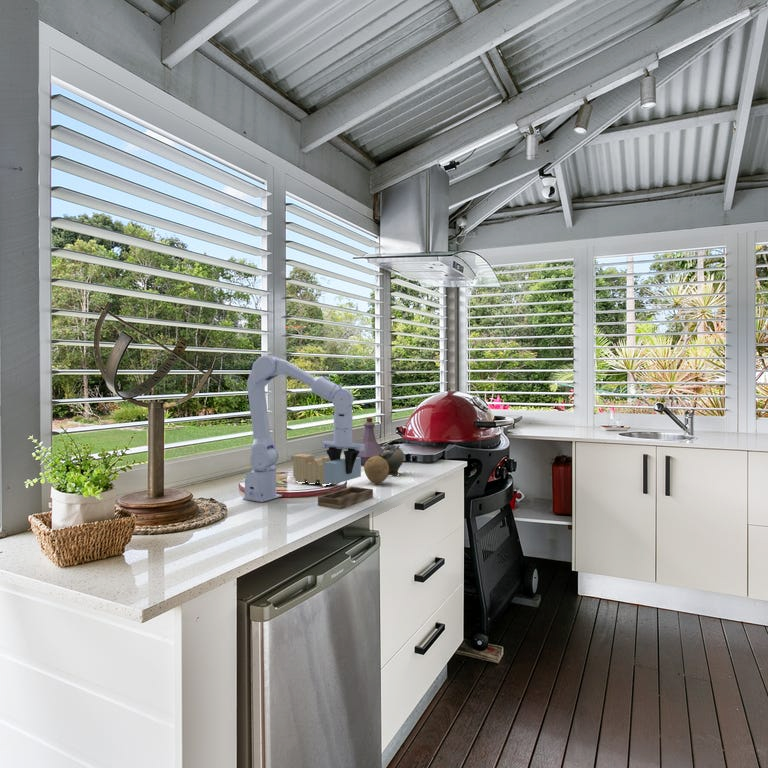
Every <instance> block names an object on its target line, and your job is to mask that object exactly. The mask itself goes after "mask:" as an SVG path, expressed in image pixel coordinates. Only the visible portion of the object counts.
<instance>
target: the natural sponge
mask: <svg viewBox="0 0 768 768" xmlns="http://www.w3.org/2000/svg"><path fill="white" fill-rule="evenodd" d="M363 469H364V473H365V476H366V477H367V479H368V480H369V481H370V483H372V484H373V485H379V484H381V483H383V482H384V481H386V479H388V477H389V476H388V473H389V465H388V463H387V461H386V460H385V459H384V458H382V457H380V456H373V457H371V458H369V459H368V460H367V461H366V463H365V465H364V466H363Z"/></svg>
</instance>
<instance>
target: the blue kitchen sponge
mask: <svg viewBox="0 0 768 768" xmlns="http://www.w3.org/2000/svg"><path fill="white" fill-rule="evenodd" d="M361 477H362V465H361V458H360V457H357V458H356V460H355V463H354V466H353V470H352V473H351V474H346V461H345V457H344V458H343V457H342V458H340V459H338V460H333V461H329V462H324V483H331V485H336V484H340V483H343V482H347V481H351V480H354V479H358V478H361Z"/></svg>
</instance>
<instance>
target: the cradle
mask: <svg viewBox="0 0 768 768" xmlns="http://www.w3.org/2000/svg"><path fill="white" fill-rule="evenodd" d="M373 497H374V489H372V488H364V487H357V486H349V487H346V488H343V489H340V490H336V491H332V492H330V493H326V494H322V495H320V496H318V497H317V506H319V507H325V508H331V509H332V508H333V509H339V510H341V509H344V508H347V507H350V506H352V505H355V504H357V503H358V504H359V503H361V502H363V501H365V500H366V501H367V500H369V499H370V500H371V499H372V498H373Z"/></svg>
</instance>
